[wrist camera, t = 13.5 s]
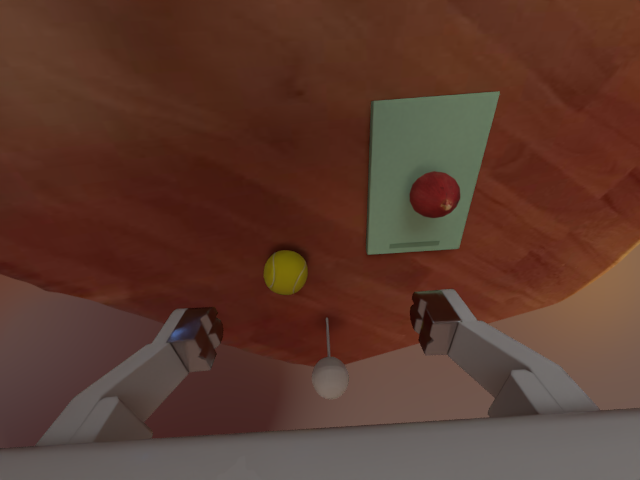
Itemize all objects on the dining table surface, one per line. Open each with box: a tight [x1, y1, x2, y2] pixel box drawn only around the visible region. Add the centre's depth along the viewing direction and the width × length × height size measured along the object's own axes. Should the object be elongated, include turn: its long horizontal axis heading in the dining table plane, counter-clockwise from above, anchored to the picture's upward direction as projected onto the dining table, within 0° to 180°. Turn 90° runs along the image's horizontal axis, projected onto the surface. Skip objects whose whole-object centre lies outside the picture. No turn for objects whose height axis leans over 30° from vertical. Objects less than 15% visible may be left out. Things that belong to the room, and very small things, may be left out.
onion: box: [410, 171, 460, 218], centre depth 30 cm, size 6×6×8 cm
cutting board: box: [366, 91, 500, 255], centre depth 34 cm, size 22×15×2 cm
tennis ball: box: [264, 250, 308, 295], centre depth 38 cm, size 7×7×7 cm
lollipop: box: [312, 318, 349, 399], centre depth 42 cm, size 6×6×15 cm
